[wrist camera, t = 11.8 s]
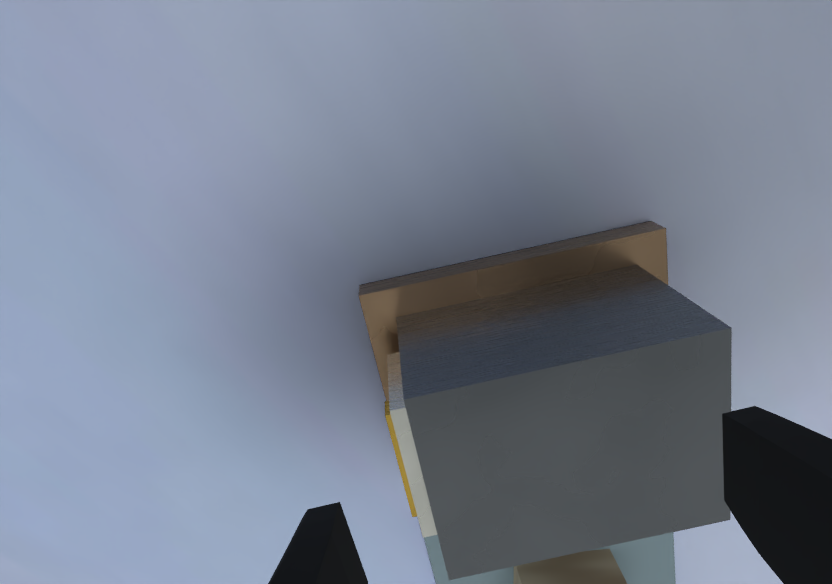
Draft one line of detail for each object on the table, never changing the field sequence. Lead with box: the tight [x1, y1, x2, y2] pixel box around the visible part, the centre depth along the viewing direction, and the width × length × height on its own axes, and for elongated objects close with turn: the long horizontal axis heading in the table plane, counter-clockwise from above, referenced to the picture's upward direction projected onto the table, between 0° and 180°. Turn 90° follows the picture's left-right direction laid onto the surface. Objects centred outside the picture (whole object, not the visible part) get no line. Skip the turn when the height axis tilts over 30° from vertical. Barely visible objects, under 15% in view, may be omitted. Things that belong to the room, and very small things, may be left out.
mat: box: [424, 532, 675, 584], centre depth 23 cm, size 10×10×1 cm
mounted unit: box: [359, 221, 731, 580], centre depth 17 cm, size 10×8×6 cm
